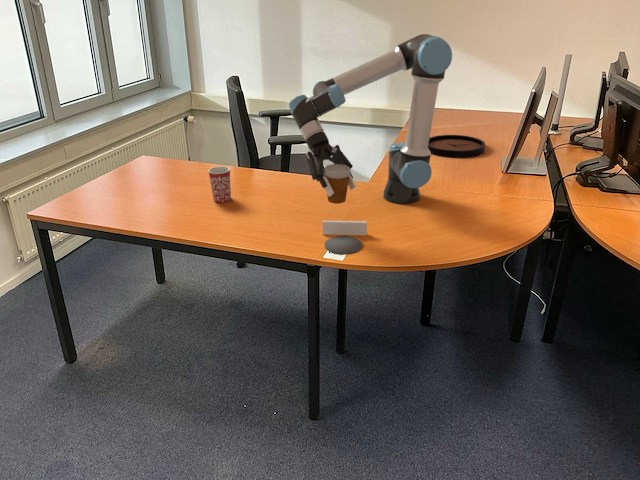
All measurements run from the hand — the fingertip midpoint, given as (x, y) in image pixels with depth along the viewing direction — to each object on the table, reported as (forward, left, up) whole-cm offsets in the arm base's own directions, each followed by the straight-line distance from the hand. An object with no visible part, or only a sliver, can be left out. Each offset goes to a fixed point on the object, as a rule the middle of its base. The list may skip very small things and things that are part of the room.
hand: (342, 191), depth 184 cm
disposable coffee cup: (+2, -2, -4) cm, 6 cm away
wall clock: (-54, -108, -17) cm, 122 cm away
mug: (+53, -34, -17) cm, 65 cm away
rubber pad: (-1, +8, -17) cm, 19 cm away
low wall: (-1, -1, -17) cm, 17 cm away
